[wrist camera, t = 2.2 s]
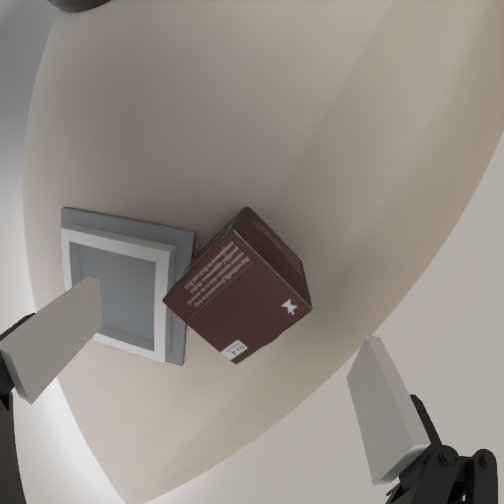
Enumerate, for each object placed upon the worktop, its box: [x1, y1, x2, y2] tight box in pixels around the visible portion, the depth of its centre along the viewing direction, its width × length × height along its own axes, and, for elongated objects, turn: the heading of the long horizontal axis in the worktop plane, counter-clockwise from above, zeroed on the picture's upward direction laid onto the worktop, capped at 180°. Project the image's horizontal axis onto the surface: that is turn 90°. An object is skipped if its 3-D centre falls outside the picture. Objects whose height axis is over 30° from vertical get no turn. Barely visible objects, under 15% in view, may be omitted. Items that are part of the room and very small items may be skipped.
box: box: [162, 207, 313, 364], centre depth 18 cm, size 6×6×7 cm
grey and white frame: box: [61, 207, 196, 366], centre depth 22 cm, size 13×13×2 cm
